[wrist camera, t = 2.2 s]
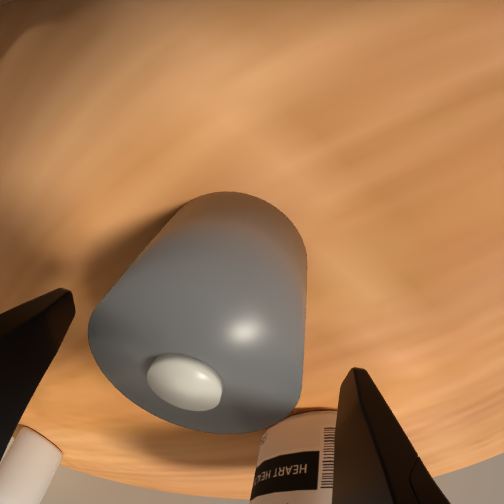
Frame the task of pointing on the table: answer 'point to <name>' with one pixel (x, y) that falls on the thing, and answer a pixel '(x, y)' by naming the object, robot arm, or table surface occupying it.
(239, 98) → the table surface
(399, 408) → the table surface
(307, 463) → the supplement can
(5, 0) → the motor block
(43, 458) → the milk bottle
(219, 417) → the grey rounded piece
